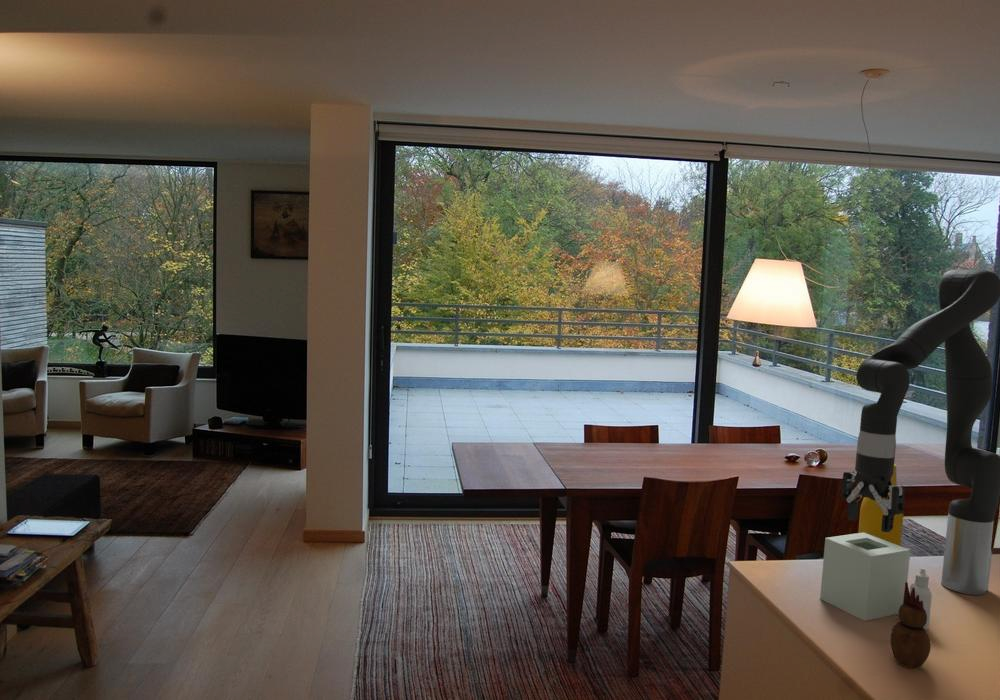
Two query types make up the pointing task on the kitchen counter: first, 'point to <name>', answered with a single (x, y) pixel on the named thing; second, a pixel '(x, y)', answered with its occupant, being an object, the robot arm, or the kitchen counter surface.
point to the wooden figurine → (910, 632)
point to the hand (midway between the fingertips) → (868, 525)
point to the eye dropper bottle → (923, 592)
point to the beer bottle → (879, 519)
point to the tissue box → (864, 575)
